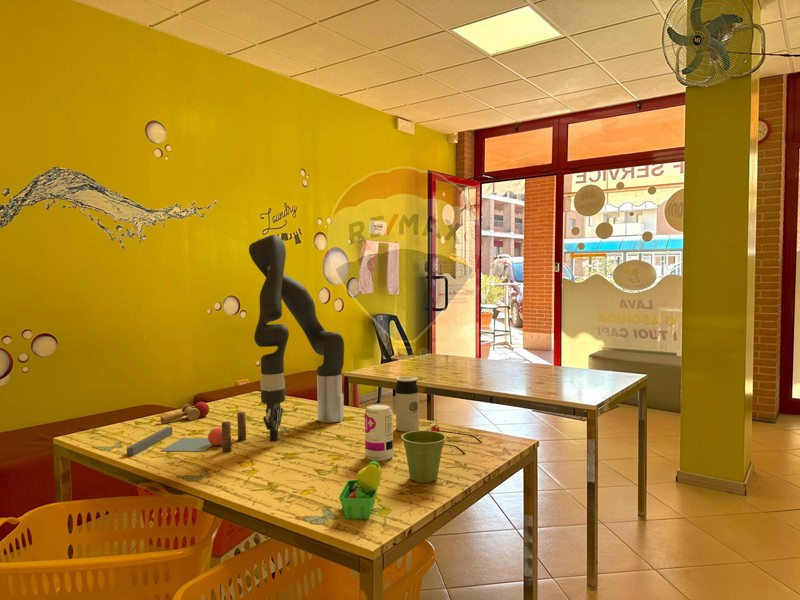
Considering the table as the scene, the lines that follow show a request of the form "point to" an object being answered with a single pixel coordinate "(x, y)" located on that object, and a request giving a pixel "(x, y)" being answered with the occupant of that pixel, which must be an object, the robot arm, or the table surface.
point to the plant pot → (423, 454)
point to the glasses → (450, 432)
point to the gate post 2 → (241, 426)
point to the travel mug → (407, 404)
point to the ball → (215, 436)
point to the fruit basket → (361, 492)
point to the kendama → (188, 412)
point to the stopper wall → (149, 441)
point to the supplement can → (378, 432)
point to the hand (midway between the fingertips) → (274, 441)
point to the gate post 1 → (226, 437)
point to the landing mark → (189, 445)
